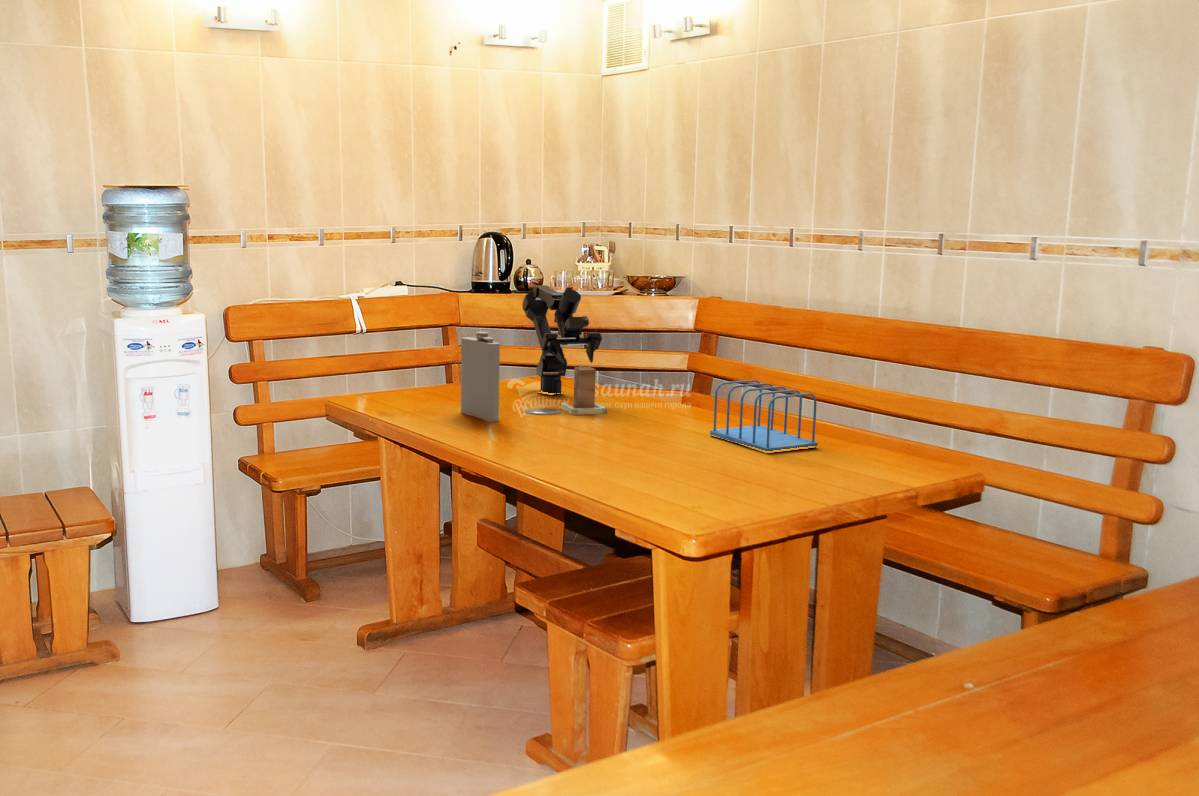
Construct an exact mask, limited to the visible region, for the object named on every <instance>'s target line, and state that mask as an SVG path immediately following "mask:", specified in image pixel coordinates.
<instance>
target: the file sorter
mask: <svg viewBox="0 0 1199 796" xmlns="http://www.w3.org/2000/svg"><path fill="white" fill-rule="evenodd" d="M743 383H745V384H743ZM746 383H747V384H746ZM748 383H749V384H748ZM731 384H733V386H731V388H730V389H729V391H728V393H727V403H726V404H727V405H726V406H727V407H726V424H725V425H726V427H725V428H718V429H717V412H718V410H717V408H718V407H717V406H718V392H719V390H720V388H721V386H723V385H731ZM734 384H738V385H734ZM758 386H759V387H758ZM763 386H767V387H763ZM748 387H756V388H748ZM737 388H747V389H745V390H744V391H743V392H742V394H741V396H740V409H739V413H740V414H739V426H736V427H729V426H730V408H731V407H730V405H731V395H732V392H733V390H734V389H737ZM777 389H779V390H777ZM780 389H782V390H780ZM763 390H772V391H763ZM755 391H759V393H758V394H757V395H756V397H755V399H754V404H753V405H754V406H753V407H754V408H753V425H747V426H746V425H744V426H743V410H744V409H743V408H744V397H745V395H746V394H747V393H749V392H755ZM782 393H783V394H785V395H783V394H782ZM789 393H794V394H789ZM795 393H796V394H795ZM776 394H782V395H776ZM763 395H772V396H771V397H772V398H771V399H770V401H769V402H768V410H767V426H763V425H761V413H762V411H761V410H762V398H763V397H762V396H763ZM805 396H810V397H812V399H813V414H812V415H813V416H812V432H811V433H812V434H811V435H812V437H811V439H808V438H805V437H801V428H802V426H801V424H802V408H803V397H805ZM791 397H792V398H793V397H794V398H795V397H798V398H799V406H798V407H799V408H798V423H797V426H798V427H797V435H795V434H791V433H788V432H787V425H788V424H787V423H788V409H789V408H788V406H789V405H788V404H789V398H791ZM784 398H785V402H784V403H785V406H784V407H785V408H784V422H783V423H784V424H783V425H784V426H783V431H781V430H777V429H774V417H775V400H777V399H784ZM757 406H758V407H757ZM757 408H758V411H757ZM713 412H714V413H713V429H711V430H710V431H709V432H710V433H709V436H710V435H714V436H717V437H720V438H723V439H727V440H730V441H733V442H737V443H740V444H744V445H747V446H751V447H755V448H758V449H761V450H765V451H773V450H781V449H790V448H797V447H798V448H799V447H808V446H817V445H818V446H819V443H818V442H817V441H816V440H815V439H816V437H815V436H816V422H817V421H816V420H817V397H816V396H815V394H813V393H810V392H806V393H805V392H804V393H802V392H801V391H800V390H798V389H787V388H786V387H784V386H782V385H781V386H779V385H778V386H774V385H773V384H771V383H768V382H764V383H763V382H762V383H761V382H760V381H759V380H756V379H750V380H748V379H747V380H734V381H723V382H720V383H719V384H718V385H717V386H716V388H715V392H714V408H713ZM757 412H758V413H757ZM756 424H757V425H756Z"/></svg>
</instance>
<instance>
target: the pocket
mask: <svg viewBox="0 0 1199 796" xmlns="http://www.w3.org/2000/svg"><path fill="white" fill-rule="evenodd" d="M560 409H562V410H564V412H565V411H566V412H567V413H568V414H570V415H572V416H574V415H596V414H597V415H599V414H608V407H606V406H604V405H601V404H600V403H597V402H595V408H574V406H572V405H570V404H569V403H566V402H561V403H560Z"/></svg>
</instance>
